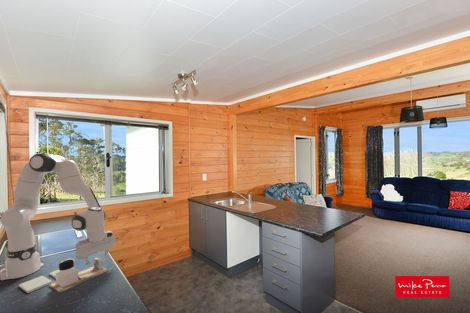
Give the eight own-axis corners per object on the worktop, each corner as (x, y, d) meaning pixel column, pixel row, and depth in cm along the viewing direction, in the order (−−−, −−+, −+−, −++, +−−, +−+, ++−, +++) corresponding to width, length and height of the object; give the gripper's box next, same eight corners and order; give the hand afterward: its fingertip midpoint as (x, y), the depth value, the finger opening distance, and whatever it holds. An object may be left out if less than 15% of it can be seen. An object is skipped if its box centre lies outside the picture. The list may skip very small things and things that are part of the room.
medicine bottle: (79, 282, 119) (77, 259, 119) (63, 290, 113) (62, 265, 113) (71, 279, 123) (70, 257, 123) (55, 286, 116) (54, 262, 116)
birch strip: (49, 286, 117) (48, 273, 117) (95, 266, 136) (95, 256, 136) (60, 292, 111) (59, 279, 111) (107, 271, 130) (106, 260, 130)
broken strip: (19, 286, 118) (18, 274, 118) (69, 267, 137) (68, 256, 137) (27, 293, 111) (27, 280, 111) (79, 272, 130) (78, 261, 130)
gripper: (78, 243, 121) (79, 269, 121) (116, 231, 138) (117, 254, 138) (72, 241, 124) (73, 267, 124) (110, 230, 141) (111, 252, 141)
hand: (96, 260), depth 131 cm, fingers open, 8 cm apart
